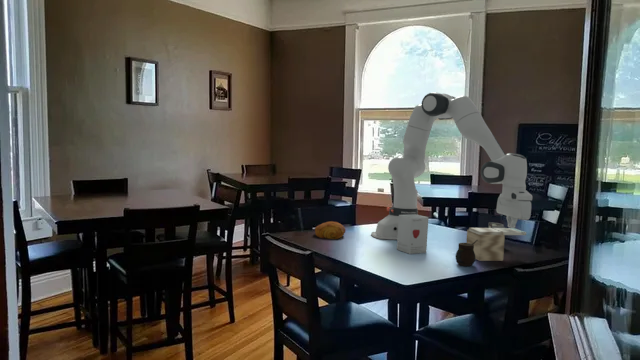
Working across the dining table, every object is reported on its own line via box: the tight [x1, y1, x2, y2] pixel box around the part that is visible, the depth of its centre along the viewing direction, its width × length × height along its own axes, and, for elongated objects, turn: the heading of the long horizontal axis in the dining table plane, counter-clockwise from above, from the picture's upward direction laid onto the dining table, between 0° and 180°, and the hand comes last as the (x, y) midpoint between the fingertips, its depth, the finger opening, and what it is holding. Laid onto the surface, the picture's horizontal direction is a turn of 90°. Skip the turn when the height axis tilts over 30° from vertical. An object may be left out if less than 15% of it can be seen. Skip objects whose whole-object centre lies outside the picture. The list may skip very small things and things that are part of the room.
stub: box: [494, 227, 527, 236], centre depth 204 cm, size 10×9×1 cm
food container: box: [488, 221, 505, 228], centre depth 227 cm, size 12×6×10 cm, turn 168°
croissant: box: [314, 220, 347, 240], centre depth 236 cm, size 14×16×8 cm
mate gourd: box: [455, 240, 478, 267], centre depth 188 cm, size 7×8×10 cm
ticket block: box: [465, 227, 506, 262], centre depth 203 cm, size 10×12×11 cm
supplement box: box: [396, 214, 429, 255], centre depth 208 cm, size 9×9×15 cm
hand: (511, 227), depth 204 cm, fingers closed
